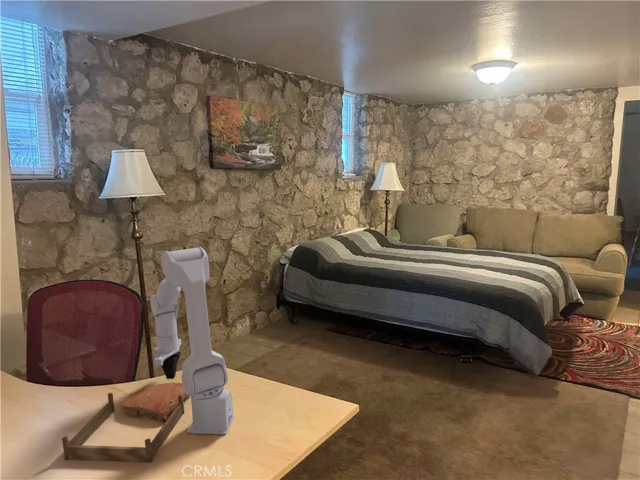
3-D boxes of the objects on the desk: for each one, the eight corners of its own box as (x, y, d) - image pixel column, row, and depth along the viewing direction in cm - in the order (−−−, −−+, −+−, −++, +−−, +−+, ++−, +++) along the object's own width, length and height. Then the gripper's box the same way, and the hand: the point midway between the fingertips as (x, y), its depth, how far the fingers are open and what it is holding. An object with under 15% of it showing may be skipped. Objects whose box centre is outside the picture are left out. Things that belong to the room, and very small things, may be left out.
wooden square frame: (185, 411, 119) (183, 394, 118) (151, 462, 100) (149, 442, 99) (111, 410, 121) (109, 392, 120) (63, 459, 101) (60, 439, 100)
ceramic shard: (146, 372, 131) (195, 384, 128) (143, 394, 131) (192, 406, 129) (113, 392, 116) (168, 405, 114) (111, 416, 117) (164, 430, 114)
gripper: (163, 324, 140) (167, 366, 142) (142, 344, 126) (146, 390, 128) (186, 324, 139) (189, 366, 142) (167, 344, 125) (171, 390, 128)
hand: (170, 377), depth 135 cm, fingers closed
